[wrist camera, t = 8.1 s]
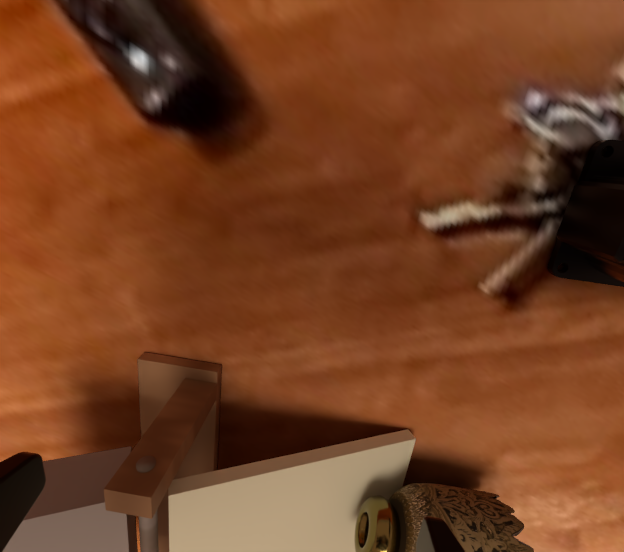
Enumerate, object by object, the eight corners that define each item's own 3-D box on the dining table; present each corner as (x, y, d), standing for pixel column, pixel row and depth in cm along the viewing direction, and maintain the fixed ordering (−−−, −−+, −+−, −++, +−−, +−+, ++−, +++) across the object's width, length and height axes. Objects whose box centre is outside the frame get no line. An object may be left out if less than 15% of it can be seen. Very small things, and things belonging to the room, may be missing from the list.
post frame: (221, 364, 22) (150, 483, 14) (213, 558, 28) (159, 719, 20) (144, 352, 22) (30, 461, 14) (152, 546, 28) (74, 701, 20)
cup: (336, 517, 24) (442, 548, 25) (343, 658, 17) (493, 697, 17) (376, 430, 22) (490, 466, 23) (404, 547, 15) (568, 595, 16)
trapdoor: (385, 401, 24) (415, 438, 21) (355, 531, 28) (376, 577, 26) (-45, 476, 16) (-94, 556, 13) (4, 647, 20) (-25, 736, 17)
